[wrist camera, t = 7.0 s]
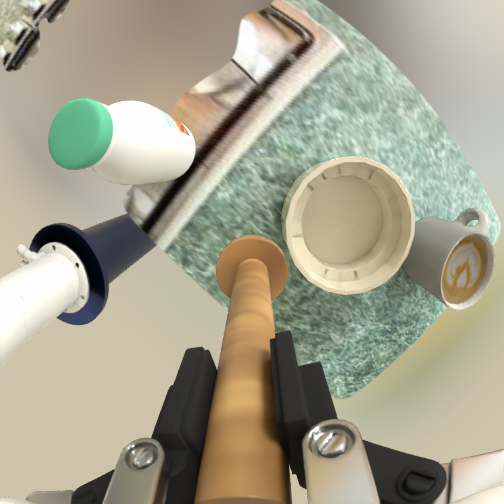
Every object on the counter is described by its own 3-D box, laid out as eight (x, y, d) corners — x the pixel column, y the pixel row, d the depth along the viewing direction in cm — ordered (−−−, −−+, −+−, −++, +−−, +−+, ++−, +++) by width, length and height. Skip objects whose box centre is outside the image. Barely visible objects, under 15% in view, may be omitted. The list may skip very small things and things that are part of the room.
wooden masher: (205, 278, 21) (113, 500, 4) (240, 221, 20) (177, 431, 3) (263, 310, 22) (272, 542, 5) (299, 257, 20) (400, 481, 4)
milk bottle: (208, 158, 33) (148, 139, 13) (158, 193, 34) (59, 220, 15) (176, 109, 31) (95, 50, 12) (128, 145, 32) (18, 131, 13)
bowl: (257, 238, 35) (257, 250, 30) (323, 135, 32) (336, 128, 26) (350, 295, 37) (365, 315, 32) (411, 204, 34) (435, 210, 28)
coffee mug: (420, 294, 37) (455, 325, 28) (390, 248, 35) (428, 273, 26) (473, 237, 35) (514, 254, 25) (448, 187, 33) (493, 195, 23)
